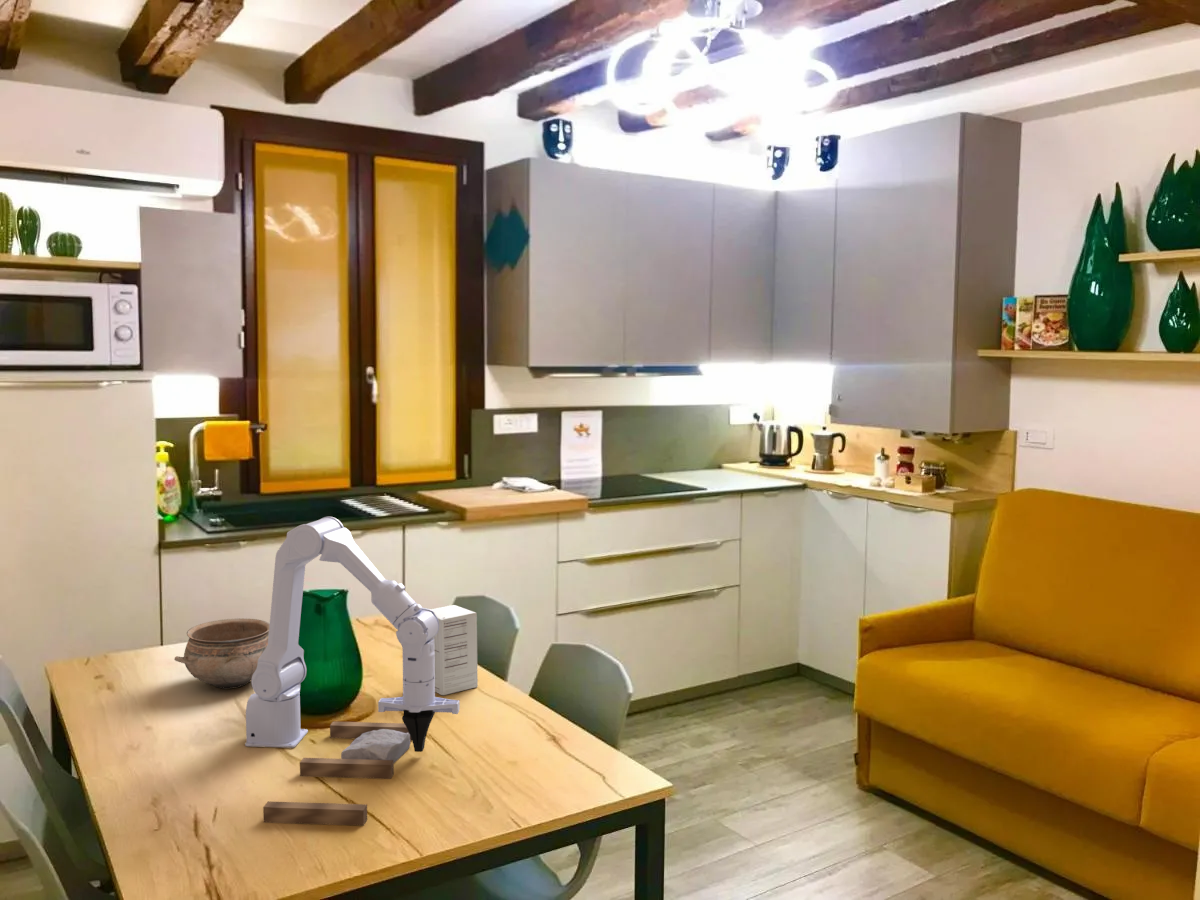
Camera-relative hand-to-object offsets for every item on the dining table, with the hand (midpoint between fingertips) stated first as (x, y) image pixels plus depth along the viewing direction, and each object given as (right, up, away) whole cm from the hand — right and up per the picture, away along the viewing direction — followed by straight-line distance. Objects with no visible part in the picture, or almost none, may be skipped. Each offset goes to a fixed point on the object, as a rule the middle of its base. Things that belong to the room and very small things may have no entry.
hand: (419, 749), depth 186 cm
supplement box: (0, +3, +38) cm, 38 cm away
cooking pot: (-48, +3, +38) cm, 62 cm away
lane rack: (-11, -2, -8) cm, 14 cm away
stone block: (-8, -2, 0) cm, 8 cm away
